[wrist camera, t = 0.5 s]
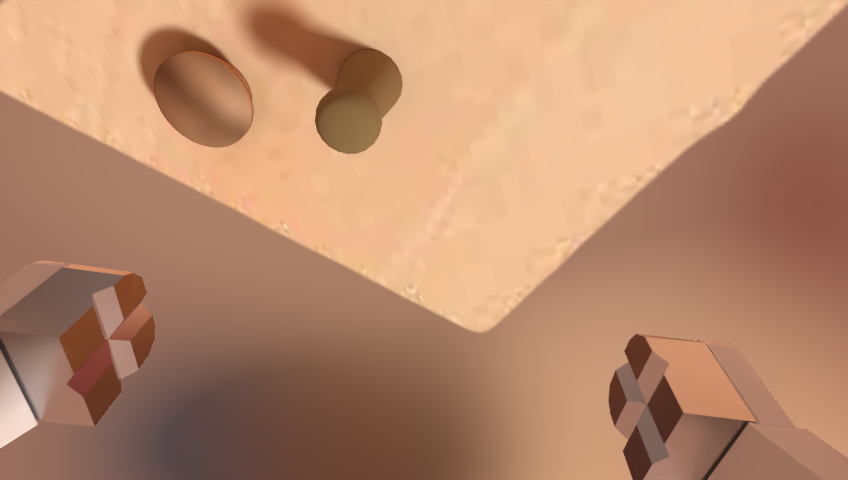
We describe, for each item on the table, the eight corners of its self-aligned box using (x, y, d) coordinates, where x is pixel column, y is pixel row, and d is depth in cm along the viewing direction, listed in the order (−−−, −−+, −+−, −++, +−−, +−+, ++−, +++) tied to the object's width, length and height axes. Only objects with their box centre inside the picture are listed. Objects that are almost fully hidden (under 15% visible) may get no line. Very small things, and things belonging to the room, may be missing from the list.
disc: (186, 23, 43) (168, 32, 40) (276, 82, 45) (264, 93, 43) (161, 101, 48) (143, 112, 45) (243, 150, 50) (230, 163, 48)
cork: (330, 56, 43) (291, 99, 35) (392, 42, 42) (368, 82, 33) (351, 118, 47) (321, 171, 38) (409, 106, 45) (392, 158, 37)
